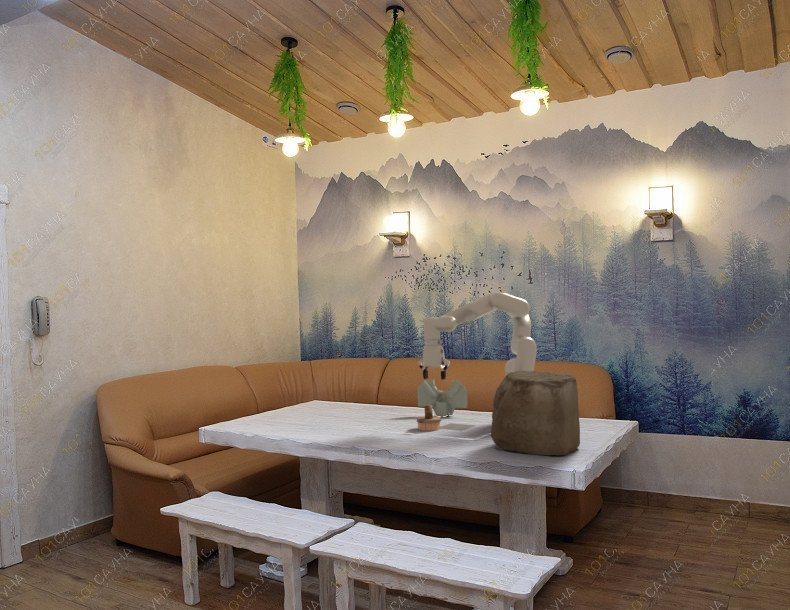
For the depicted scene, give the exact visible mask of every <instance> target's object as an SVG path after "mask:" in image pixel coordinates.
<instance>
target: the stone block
mask: <svg viewBox="0 0 790 610" xmlns="http://www.w3.org/2000/svg"><path fill="white" fill-rule="evenodd" d="M577 381H578V380H577V378H576V376H574V375H573V374H571V373H567V372H550V371H537V370H534V371H515V372H510V373H509V374H507V375H506V374H505V377H504V378H503V379H502V381H501V382H500V384H499V386H498V387H497V388H496V390H495V394H494V396H493V397H494V398H493V403H492V404H493V405H492V406H493V410H492V413H491V418H492V419H491V428H490V437H491V439H492V441H493V443H494V444H495V445H496V446H497V447H499V448H500V449H503V450H506V451H511V452H518V453H522V454H529V455H537V456H540V455H543V456H544V455H545V456H551V455H556V456H565V455H567V454H569V453H572V452H575V451H577V450H578V448H579V447H580V444H581V427H580V426H581V425H580V424H581V423H580V410H579V392H578V382H577Z"/></svg>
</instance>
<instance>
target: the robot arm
mask: <svg viewBox="0 0 790 610" xmlns="http://www.w3.org/2000/svg"><path fill="white" fill-rule="evenodd" d="M497 310H499V311H501V312H504V313H506V314H507V315H508V316H509V317H510V319H512V323H513V329H512V330H513V331H512V336H511V343H510V351H511V352H512V354H513V355H516V357H513V358H510V359H509V360H507V362H506V363H505V366H504V372H505V376H506V375H507V374H509V373H510V372H515V371H535V364H536V358H537V354H538V353H537V351H538V346H537V342H536V341H535V340H534V338H532V337H531V335H532V321H531V318H530V316H529V315H530V311H531V306H530V304H529V302H528V301H527V300H526V299H523V298H520V297H517V296H514V295H510V294H509V293H504V292H501V291H493V292H490V293H487V294H486V295H483V296H482V297H479V298H478V299H476V300H473V301H471V302H469V303H467V304H465V305H462V306H461V307H459V308H455V309H454V310H451V311H449V312H447V313H445V314H443V315H441V316H439V317H436V316H432V317H431V316H430V317H429V316H428V317H425V318H423V336H424V338H423V339H424V346H423V350H422V358H421V359H419V360H418V361H417V364H418V367H419V368H420V369H421V371H422V377H423V380H426V379H427V380H429V370H428V369H429V368H439V369H440V370H441V371H440V380H441V381H443V380H446V378H447V370H448V368H449V367H450V364H451V361H450V360H448V359H447V358H446V356H445V351H444V347H443V345H442V344H443V342H444V341H443V340H441V332H447V333H449V332H453V331H454V330H456V328H457V326H459V325H461V324H464V323H466V322H472V321H475V320H479V319H480V318H482V317H484V316H486V315H488V314H491V313H493V312H495V311H497Z"/></svg>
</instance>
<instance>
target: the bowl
mask: <svg viewBox="0 0 790 610" xmlns="http://www.w3.org/2000/svg"><path fill="white" fill-rule="evenodd" d="M440 427H441V421H440V422H436V423H419V422H417V430H418V429H419V430H418V431H421V430H422V431H421V432H433V431H434V432H435V431H439V430H440Z"/></svg>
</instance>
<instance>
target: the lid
mask: <svg viewBox="0 0 790 610" xmlns="http://www.w3.org/2000/svg"><path fill="white" fill-rule="evenodd" d="M416 422H417V423H418V422H419V423H436V422H440V423H441V422H442V417H436V415H435V416H433V408H432V405H425V407H424V416H420V417H417V418H416Z"/></svg>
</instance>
